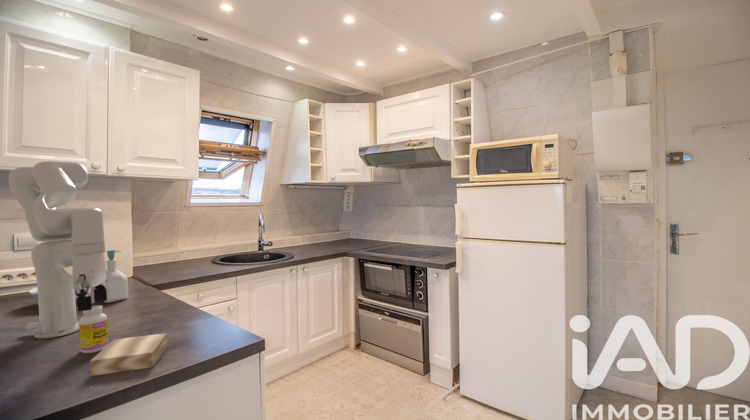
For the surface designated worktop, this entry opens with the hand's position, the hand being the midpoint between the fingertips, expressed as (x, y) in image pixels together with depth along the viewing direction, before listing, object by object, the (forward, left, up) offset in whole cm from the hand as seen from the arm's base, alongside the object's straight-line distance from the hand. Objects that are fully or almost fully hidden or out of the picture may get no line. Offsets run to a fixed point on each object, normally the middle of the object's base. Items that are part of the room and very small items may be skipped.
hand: (93, 305), depth 105 cm
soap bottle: (-17, +60, -14) cm, 64 cm away
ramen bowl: (-37, +64, -14) cm, 75 cm away
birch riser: (+14, -11, -14) cm, 22 cm away
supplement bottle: (0, +1, -14) cm, 14 cm away
